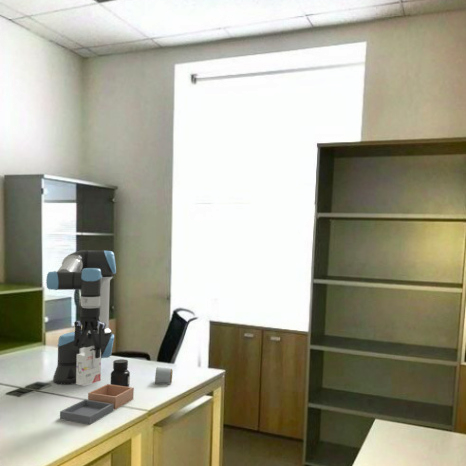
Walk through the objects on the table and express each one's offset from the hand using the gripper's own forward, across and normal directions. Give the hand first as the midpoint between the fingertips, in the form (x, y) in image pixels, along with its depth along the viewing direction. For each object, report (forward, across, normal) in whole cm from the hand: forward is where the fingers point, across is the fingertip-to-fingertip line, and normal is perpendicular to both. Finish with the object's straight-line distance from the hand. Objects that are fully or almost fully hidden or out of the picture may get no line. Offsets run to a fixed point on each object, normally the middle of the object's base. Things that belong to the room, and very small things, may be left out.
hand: (88, 365), depth 179 cm
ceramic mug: (+20, +7, +50) cm, 54 cm away
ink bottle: (+20, -9, +36) cm, 42 cm away
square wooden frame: (+20, 0, +16) cm, 25 cm away
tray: (+20, 0, 0) cm, 20 cm away
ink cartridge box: (+7, 0, 0) cm, 7 cm away
